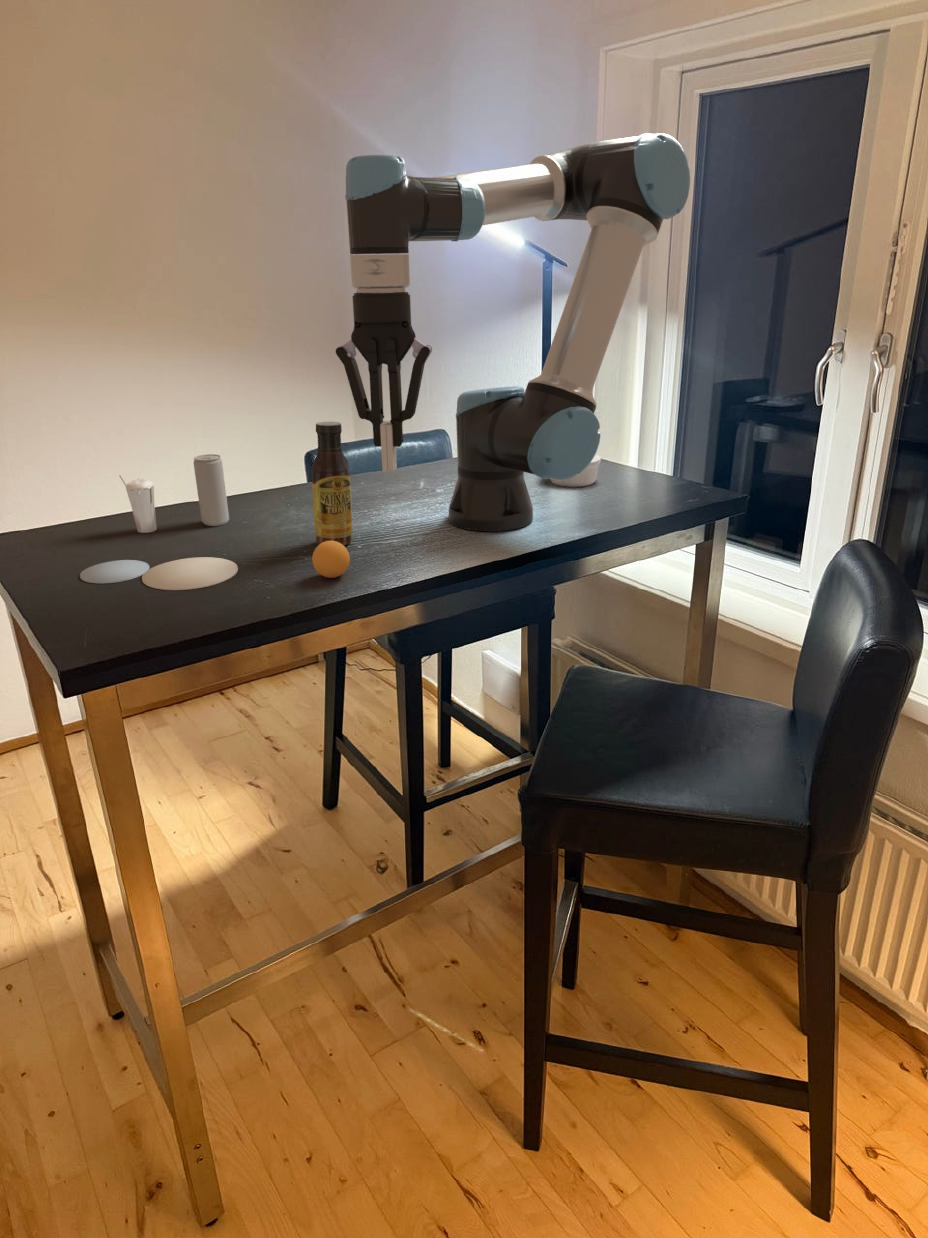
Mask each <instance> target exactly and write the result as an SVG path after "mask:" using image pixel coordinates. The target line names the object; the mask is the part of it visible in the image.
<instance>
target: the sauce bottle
mask: <svg viewBox="0 0 928 1238" xmlns="http://www.w3.org/2000/svg"><path fill="white" fill-rule="evenodd" d="M342 431H343V429H342V423H341V422H340V421H320V422H316V423H315V432H316V434H317V454H316V456H315V458H314V459H313V460H314V461H313V463H312V468H311V474H312V482H311V485H312V486H311V487H312V503H313V506H312V507H313V521H314V522H313V523H314V534H315V541H316V544H317V546H318V545H320V544H321V543H323V542H325V541H336V542H339V543H341V544H342V545H343V546H348V545H350V544H351V543H352V539H353V538H352V535H353V532H354V531H353V516H352V515H353V514H352V513H353V512H352V510H353V509H352V490H351V489H352V488H351V484H352V483H351V475H350V474H351V473H350V467H349V461H348V458H347V457H346V456H345V454H344V452H343V446H342V435H341V434H342Z"/></svg>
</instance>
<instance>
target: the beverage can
mask: <svg viewBox="0 0 928 1238" xmlns="http://www.w3.org/2000/svg"><path fill="white" fill-rule="evenodd" d="M193 469H194V476H195V484H196V491H197V497H198V498H197V499H198V503H199V505H198V506H199V512H200V517H201V523H202V524H203V525H205V526H209V527H220V526H224V525H226V524H227V523H228V522H229V520H230V515H229V514H230V513H229V506H228V499H227V490H226V482H225V475H224V467H223V460H222V459H221V455H220V454H213V453H212V454H211V453H210V454H201V455H197V456H194V457H193Z"/></svg>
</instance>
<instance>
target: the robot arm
mask: <svg viewBox="0 0 928 1238" xmlns="http://www.w3.org/2000/svg"><path fill="white" fill-rule="evenodd" d="M688 163H689V162H688V158H687V155H686V152H685V150H684V149H683V146H682V145H681V143H680V142H679V141H678V140H677V139H676V138H675V137H673V136H672V135H670V134H668V133H651V132H649V133H648V132H645V133H642V134H640V135H638V136H629V137H623V138H621V137H620V138H613V139H607V140H606V139H605V140H597V141H591V142H588V143H585V144H581V145H577V146H574V147H572V148H568V149H565V150H561V151H558V152H555V153H550V154H544V155H543V154H542V155H539V156H536V157H534V158H532V160H531V161H530V163H528V164H522V165H515V166H509V167H508V166H507V167H500V168H493V169H486V170H480V171H479V170H478V171H472V172H471V171H470V172H464V173H463V172H462V173H457V174H450V175H441V176H432V177H428V176H427V177H421V176H420V177H419V176H418V177H417V176H412V175H408V172H407V170H406V169H407V168H406V161H405V160H404V158H402V157H400V156H396V155H390V154H389V155H388V154H368V155H367V154H366V155H357V156H353V157H352V158H350V159H348V161H347V163H346V167H345V201H346V211H347V215H346V216H347V228H348V229H347V230H348V239H349V240H348V241H349V261H350V276H351V286H352V288H354V289H356V292H354V293H353V295H352V309H353V310H352V311H353V325H354V326H353V330H352V333H351V336H350V340H348V341H347V342H346V343H344V344H343V345H341V346H338V347H337V348H336V349H335V354H336V356H337V357H338V359H339V360H340V362H341V363H342V364H343V366H344V370H345V374H346V377H347V380H348V384H349V387H350V391H351V394H352V398H353V401H354V404H355V408H356V412H357V415H358V417H359V419H361V420H366V421H369V422H370V423H371V424H372V435H373V436H372V438H373V444H374V447H379V448H381V449H380V450H381V451H380V452H381V467H382V472H384V473H391V472H392V473H393V472H395V471H396V469H397V468H398V465H397V448H398V447H401V446H402V445H403V442H404V437H403V435H404V432H403V423H404V421H407V420H411V419H412V418H413V417H414V415H416V409H417V405H418V401H419V400H418V399H419V396H420V395H419V394H420V388H421V384H422V380H423V375H424V370H425V363H427V360H428V358H429V357H430V356H431V354H432V351H433V348H432V346H431V345H429V344H425V343H423V342H421V341H420V339H417V338H416V333H415V331H414V329H413V325H412V314H411V311H412V310H411V294H409V292H408V291H406V288H409V286H411V285H410V283H411V281H410V280H411V279H410V277H411V276H410V255H409V253H410V252H409V251H410V250H409V245H410V244H409V242H432V241H433V242H434V241H435V242H436V241H437V242H438V241H439V242H440V241H451V242H455V243H457V242H459V241H466V240H468V241H469V240H471V239H473V238H474V237H476V236H477V235H478V234H479V233H480V231H481V229H482V228H483V226H487V225H494V224H498V223H499V224H500V223H504V222H511V221H516V220H521V219H529V218H533V217H534V218H535V219H537V220H539V221H542V222H550V221H554V220H572V221H573V220H574V221H576V220H577V221H587V222H588V225H589V226H590V228H591V231H590V233H589V235H588V238H587V241H586V245H585V247H584V250H583V252H582V256H581V259H580V262H579V263H578V267H577V269H576V274H575V277H574V279H573V282H572V285H571V288H570V290H569V293H568V296H567V299H566V301H565V302H566V303H565V304H564V307H563V310H562V314H561V316H560V319H559V321H558V324H557V327H556V330H555V333H554V336H553V339H552V342H551V345H550V348H549V351H548V353H547V356H546V359H545V362H544V364H543V368H542V371H541V374H539V376H537V377H534V378H532V379H531V380H528V383H527V385H526V388H524V387H523V386H519V385H517V386H516V385H515V386H505V387H504V386H501V387H493V388H483V389H475V390H468V391H464V392H462V393H460V394H459V396H458V397H457V399H456V400H457V401H456V402H457V403H456V413H455V419H456V423H455V424H456V453H457V455H456V456H457V457H456V458H457V479H456V482H455V486H454V489H453V493H452V496H451V499H450V502H449V506H448V521H449V523H450V524H451V525H453V526H454V527H457V528H461V529H465V530H470V531H477V532H478V531H480V532H502V531H504V532H505V531H510V530H516V529H521V528H524V527H526V526H528V525H529V524H531V523H532V522H533V520H534V508H533V507H534V506H533V503H532V500H531V497H530V495H529V494H530V493H529V490H528V487H527V484H526V479H525V476H524V473H528V474H530V475H535V476H537V477H539V478H541V479H545V480H547V479H550V478H551V479H557V480H565V479H569V478H572V477H574V476H575V475H577V474H579V473H581V472H582V471H583V470H584V469H585V468H586V467H587V466H588V465H589V464H590V462H591V461H592V459H593V458H594V456H595V454H596V455H597V451H598V449H599V446H600V441H601V432H599V430H600V428H601V425H600V422H599V419H598V418H597V416H596V415H595V411H596V408H597V405H598V404H597V402H596V399H595V397H594V396H593V388H594V387H595V383H596V381H597V377H598V375H599V372H600V369H601V366H602V364H603V360H604V359H605V358H604V357H605V355H606V352H607V350H608V347H609V343H610V340H611V338H612V335H613V332H614V330H615V327H616V324H617V320H618V318H619V316H620V313H621V310H622V307H623V304H624V302H625V299H626V295H627V293H628V291H629V289H630V284H631V283H632V279H633V276H634V273H635V271H636V269H637V268H636V267H637V265H638V263H639V260H640V256H641V253H642V251H643V248H644V247H645V246H648V245H649V244H651V243H653V242H655V241H657V240H656V239H657V238H658V234H659V232H660V230H661V227H662V224H663V221H664V220H669V219H671V218H674V217H676V215H678V214H680V213H681V212H682V211H683V209H684V208H685V206H686V204H687V201H688V197H689V193H690V187H691V173H690V168H689V164H688ZM411 348H412V357H413V359H414V362H413V365H412V368H411V369H412V371H411V373H410V380H409V385H408V390H407V396H406V401H405V407H404V409H403V399H402V398H403V397H402V379H401V377H402V376H401V374H402V373H401V370H402V369H401V368H402V366H401V365H402V364H401V362H402V361H404V360H403V359H404V358H405V357H406V355H407V354H408V352H409V351H410V349H411ZM356 349H357V351H358V352H359V353H360V354H361V356H362V357H363V359H364V360H365V361H366V362H367V365H368V367H367V368H368V373H369V391H370V393H369V394H370V403H369V401H368V398H367V394H366V390H365V387H364V384H363V379H362V376H361V373H360V370H359V366H358V362H357V360H356V358H355V357H356V356H357V351H356ZM383 365H386V366H387V372H388V386H389V387H388V389H389V407H390V420H386V421H385V420H384V418H385V415H384V398H383V373H382V370H383ZM369 404H370V405H369Z"/></svg>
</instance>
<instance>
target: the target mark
mask: <svg viewBox="0 0 928 1238" xmlns="http://www.w3.org/2000/svg"><path fill="white" fill-rule="evenodd" d="M238 570H239V567H238V565H237V564H236V563H235V562H234V561H232V560H229V559H226V558H221V557H212V556H211V557H210V556H209V557H207V556H204V557H201V556H200V557H187V558H181V559H175V560H171V561H167V562H164V563H160V564H158V565H155V566H153V567H150V569H149V570H148V571H146V572H145V573H144V574H143V575H142V576H141V581H142V583H143V584H144V585H145V586H148V587H150V588H152V589H157V590H163V591H186V590H188V591H189V590H196V589H201V588H206V587H211V586H212V587H213V586H216V585H218V584H220V583H223V582H226V581H227V580H229V579H231V578H233V577H235V576H236V574H237V573H238Z"/></svg>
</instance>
